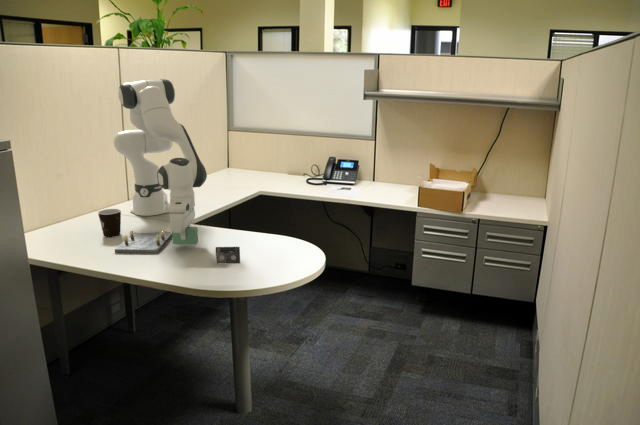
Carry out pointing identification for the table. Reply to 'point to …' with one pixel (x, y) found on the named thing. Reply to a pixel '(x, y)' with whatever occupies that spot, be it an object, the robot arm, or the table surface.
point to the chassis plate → (143, 242)
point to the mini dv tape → (227, 255)
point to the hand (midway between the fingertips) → (185, 237)
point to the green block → (190, 236)
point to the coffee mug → (110, 222)
